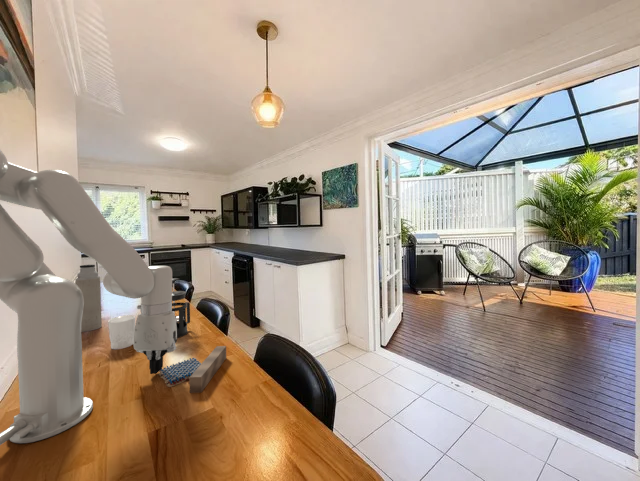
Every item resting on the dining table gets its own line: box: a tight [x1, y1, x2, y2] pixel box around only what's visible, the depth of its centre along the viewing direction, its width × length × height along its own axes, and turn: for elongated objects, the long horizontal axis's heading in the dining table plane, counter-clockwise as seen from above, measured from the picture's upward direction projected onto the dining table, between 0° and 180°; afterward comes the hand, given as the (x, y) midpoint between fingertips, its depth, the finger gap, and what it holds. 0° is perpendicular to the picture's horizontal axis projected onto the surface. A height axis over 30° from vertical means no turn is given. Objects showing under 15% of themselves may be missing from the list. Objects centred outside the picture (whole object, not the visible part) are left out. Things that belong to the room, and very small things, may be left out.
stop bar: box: [188, 345, 227, 394], centre depth 74 cm, size 18×3×4 cm, turn 1°
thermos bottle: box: [74, 264, 103, 333], centre depth 110 cm, size 8×8×28 cm
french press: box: [172, 277, 191, 339], centre depth 103 cm, size 12×9×23 cm
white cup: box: [107, 314, 136, 350], centre depth 93 cm, size 8×8×10 cm
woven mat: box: [158, 357, 202, 388], centre depth 74 cm, size 10×11×2 cm
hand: (156, 371), depth 73 cm, fingers closed
